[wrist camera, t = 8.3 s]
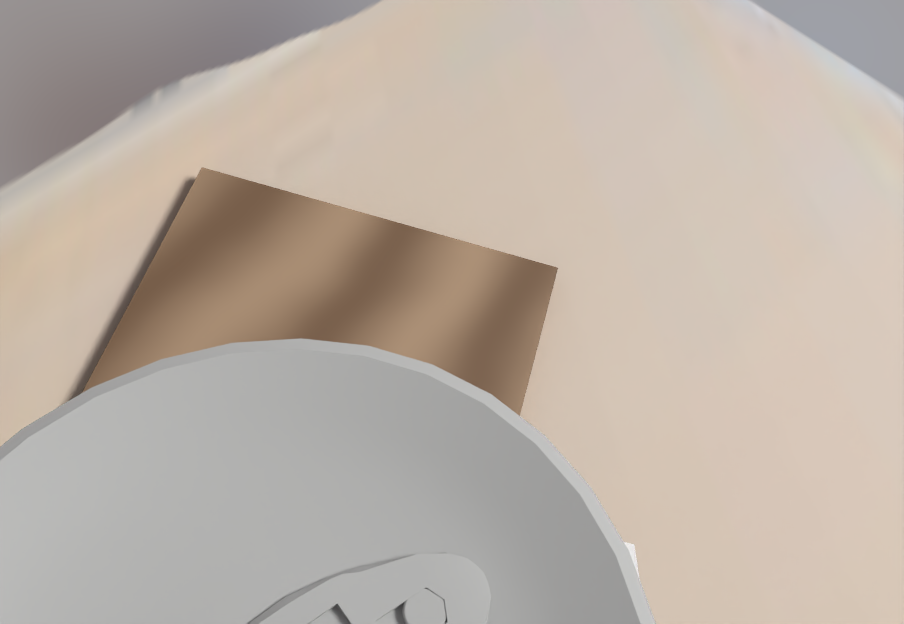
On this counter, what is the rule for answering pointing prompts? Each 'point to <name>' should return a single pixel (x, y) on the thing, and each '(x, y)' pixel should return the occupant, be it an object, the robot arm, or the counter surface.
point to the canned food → (301, 501)
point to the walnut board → (330, 288)
